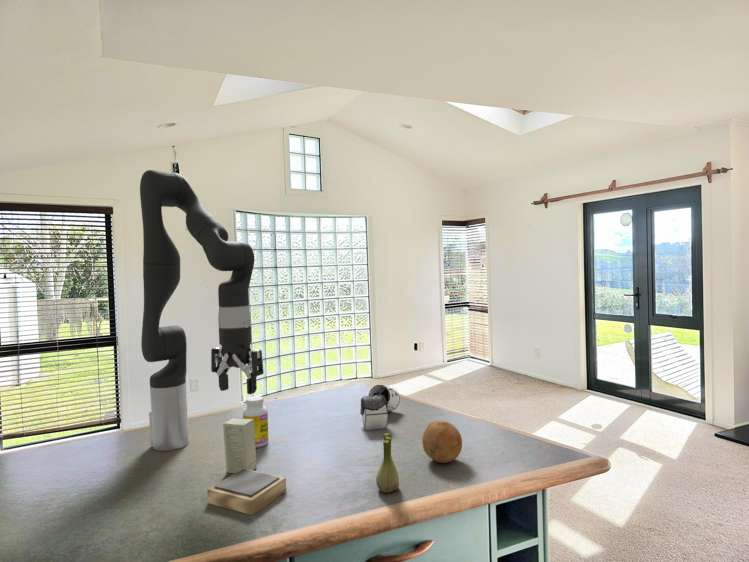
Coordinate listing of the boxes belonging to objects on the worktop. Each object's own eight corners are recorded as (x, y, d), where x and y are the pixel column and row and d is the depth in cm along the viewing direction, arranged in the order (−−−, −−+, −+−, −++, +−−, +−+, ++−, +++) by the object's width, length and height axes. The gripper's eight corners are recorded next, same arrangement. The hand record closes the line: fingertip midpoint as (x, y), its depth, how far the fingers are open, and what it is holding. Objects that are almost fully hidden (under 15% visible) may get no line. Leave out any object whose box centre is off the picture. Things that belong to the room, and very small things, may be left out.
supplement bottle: (262, 449, 132) (260, 402, 131) (239, 448, 133) (237, 401, 133) (272, 440, 138) (270, 395, 138) (250, 439, 140) (248, 394, 139)
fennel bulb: (390, 498, 103) (389, 441, 102) (370, 492, 105) (369, 437, 105) (403, 486, 108) (402, 432, 107) (384, 482, 110) (383, 429, 110)
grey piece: (372, 408, 167) (371, 379, 166) (401, 409, 164) (400, 379, 164) (353, 434, 142) (352, 400, 141) (387, 435, 140) (386, 401, 139)
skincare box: (257, 468, 120) (255, 418, 119) (246, 475, 116) (244, 424, 115) (235, 465, 122) (233, 417, 121) (224, 472, 118) (222, 422, 117)
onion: (467, 456, 123) (466, 417, 123) (456, 472, 114) (455, 429, 114) (430, 451, 127) (429, 413, 127) (417, 466, 118) (416, 425, 118)
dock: (207, 503, 103) (207, 487, 103) (244, 481, 113) (243, 466, 112) (252, 515, 97) (251, 498, 97) (286, 491, 107) (285, 475, 107)
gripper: (201, 325, 117) (204, 393, 118) (247, 327, 111) (250, 398, 112) (223, 322, 124) (226, 385, 125) (268, 323, 118) (271, 390, 118)
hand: (237, 391), depth 118 cm, fingers open, 8 cm apart
